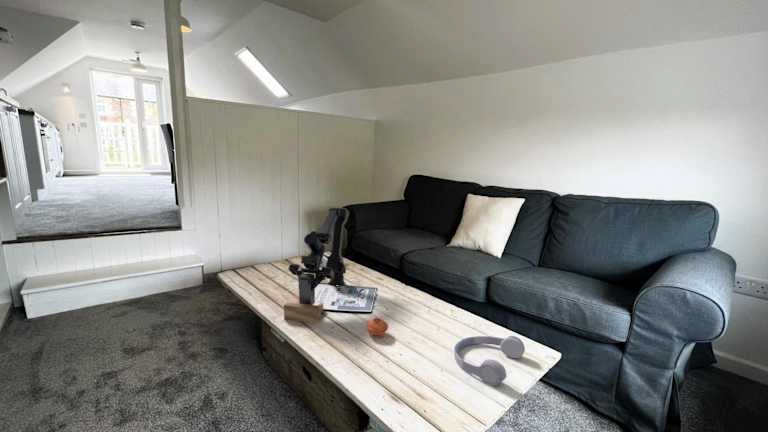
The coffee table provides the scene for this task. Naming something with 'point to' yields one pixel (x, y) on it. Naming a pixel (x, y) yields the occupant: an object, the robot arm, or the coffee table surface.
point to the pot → (377, 327)
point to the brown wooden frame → (303, 312)
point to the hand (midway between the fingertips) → (305, 290)
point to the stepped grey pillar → (306, 289)
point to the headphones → (490, 368)
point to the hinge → (324, 260)
